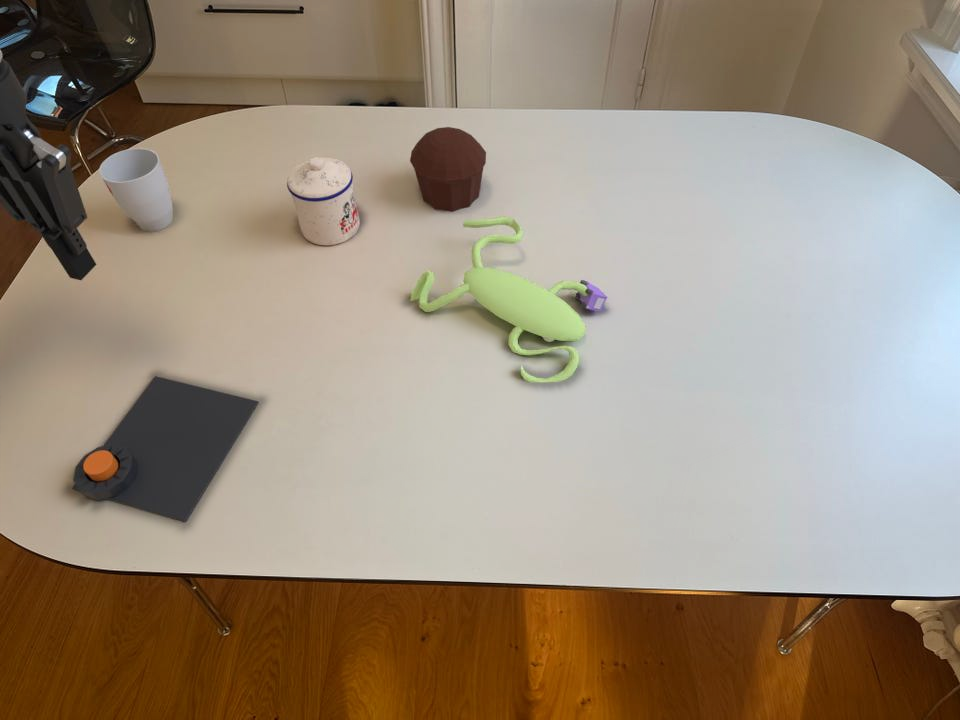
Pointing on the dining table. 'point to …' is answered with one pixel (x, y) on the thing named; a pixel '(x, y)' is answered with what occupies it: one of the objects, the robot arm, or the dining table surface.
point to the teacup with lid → (324, 200)
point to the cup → (139, 187)
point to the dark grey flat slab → (169, 448)
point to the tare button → (100, 465)
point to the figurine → (519, 300)
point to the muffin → (448, 168)
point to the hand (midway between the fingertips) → (83, 270)
